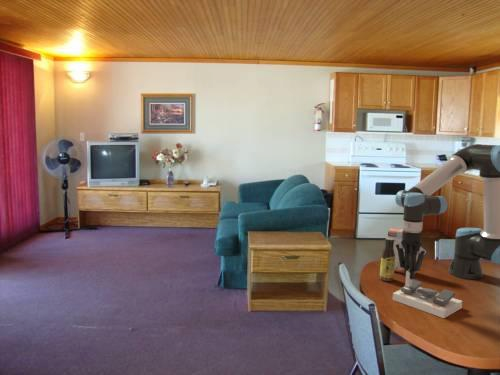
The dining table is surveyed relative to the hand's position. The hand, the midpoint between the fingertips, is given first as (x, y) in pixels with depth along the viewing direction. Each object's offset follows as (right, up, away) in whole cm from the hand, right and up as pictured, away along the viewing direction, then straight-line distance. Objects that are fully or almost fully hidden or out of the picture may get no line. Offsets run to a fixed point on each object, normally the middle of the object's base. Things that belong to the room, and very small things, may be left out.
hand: (408, 285), depth 182 cm
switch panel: (+6, -7, -2) cm, 10 cm away
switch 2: (+11, -3, -8) cm, 14 cm away
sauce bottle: (-2, -3, +25) cm, 25 cm away
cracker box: (+9, -1, +36) cm, 37 cm away
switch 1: (+2, -2, +2) cm, 3 cm away
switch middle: (+7, -2, -3) cm, 8 cm away
